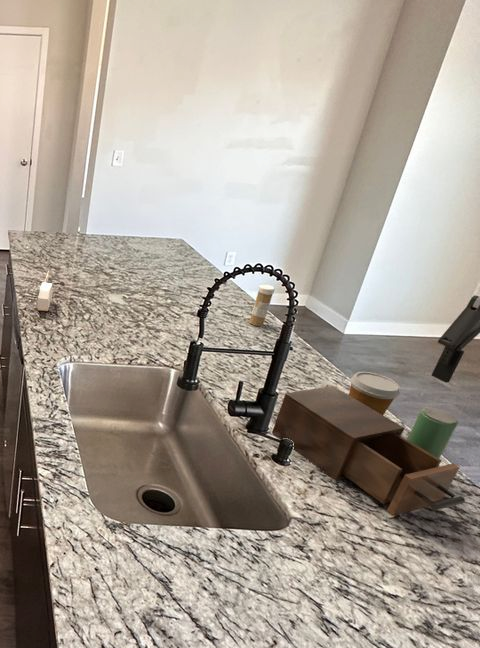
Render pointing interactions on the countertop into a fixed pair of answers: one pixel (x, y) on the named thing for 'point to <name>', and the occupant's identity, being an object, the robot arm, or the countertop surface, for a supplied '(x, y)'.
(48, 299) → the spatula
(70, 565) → the countertop surface
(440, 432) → the green can
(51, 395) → the countertop surface
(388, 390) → the disposable coffee cup
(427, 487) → the drawer
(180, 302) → the countertop surface
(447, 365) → the robot arm
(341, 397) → the cabinet
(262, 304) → the sprinkles bottle
